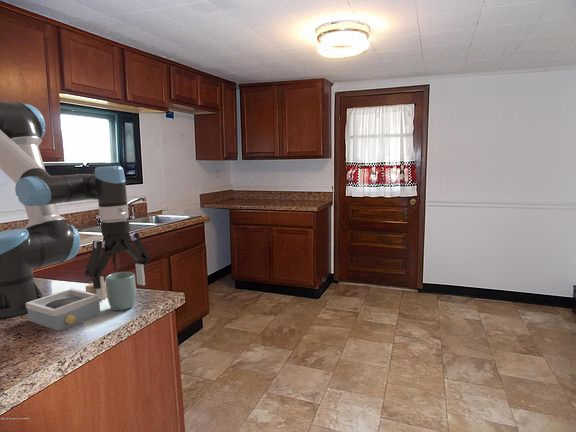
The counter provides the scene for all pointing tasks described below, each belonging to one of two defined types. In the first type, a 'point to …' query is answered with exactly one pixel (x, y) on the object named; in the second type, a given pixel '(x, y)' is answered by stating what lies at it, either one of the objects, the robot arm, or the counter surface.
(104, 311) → the counter surface
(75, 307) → the grey drawer box
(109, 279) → the cup
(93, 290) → the oak block
